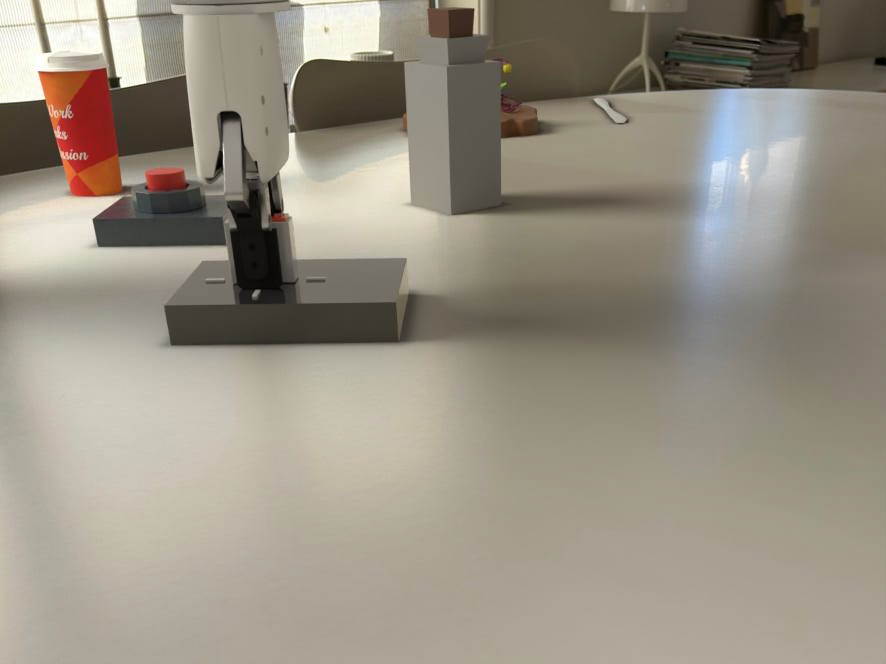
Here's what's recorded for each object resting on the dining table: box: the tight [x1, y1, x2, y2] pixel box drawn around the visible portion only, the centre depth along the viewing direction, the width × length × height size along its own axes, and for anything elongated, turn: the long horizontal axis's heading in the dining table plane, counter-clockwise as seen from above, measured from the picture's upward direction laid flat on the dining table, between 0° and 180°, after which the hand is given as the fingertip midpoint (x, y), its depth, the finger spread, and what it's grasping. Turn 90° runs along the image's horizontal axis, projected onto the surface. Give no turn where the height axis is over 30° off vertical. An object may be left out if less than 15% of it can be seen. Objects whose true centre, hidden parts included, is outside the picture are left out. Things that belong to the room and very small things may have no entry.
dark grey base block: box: [163, 257, 410, 346], centre depth 78 cm, size 16×12×3 cm
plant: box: [402, 56, 539, 139], centre depth 153 cm, size 20×20×11 cm
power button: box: [144, 166, 187, 191], centre depth 100 cm, size 4×4×2 cm
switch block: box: [91, 179, 228, 248], centre depth 101 cm, size 12×10×4 cm
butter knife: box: [593, 97, 628, 125], centre depth 168 cm, size 1×27×3 cm
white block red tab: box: [224, 212, 298, 283], centre depth 76 cm, size 5×2×4 cm, turn 90°
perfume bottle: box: [403, 6, 502, 216], centre depth 107 cm, size 7×7×18 cm
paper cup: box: [33, 50, 123, 198], centre depth 116 cm, size 8×8×14 cm
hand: (265, 277), depth 77 cm, fingers open, 3 cm apart
